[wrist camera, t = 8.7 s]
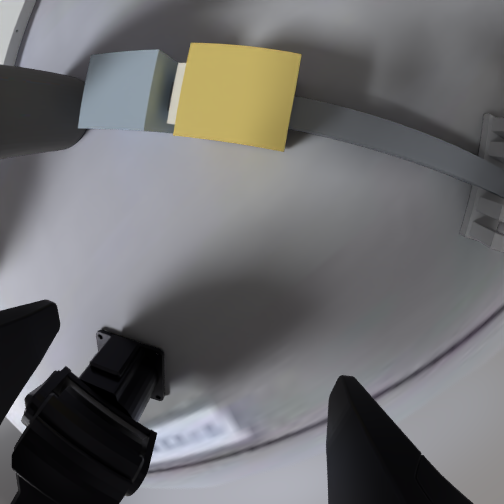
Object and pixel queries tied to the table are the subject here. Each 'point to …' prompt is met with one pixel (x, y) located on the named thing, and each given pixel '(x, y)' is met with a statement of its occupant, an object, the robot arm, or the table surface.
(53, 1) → the table surface
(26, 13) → the mounting plate
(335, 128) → the grey long bar
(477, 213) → the grey boxy piece
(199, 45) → the pale yellow cube
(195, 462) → the table surface
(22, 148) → the bottle
